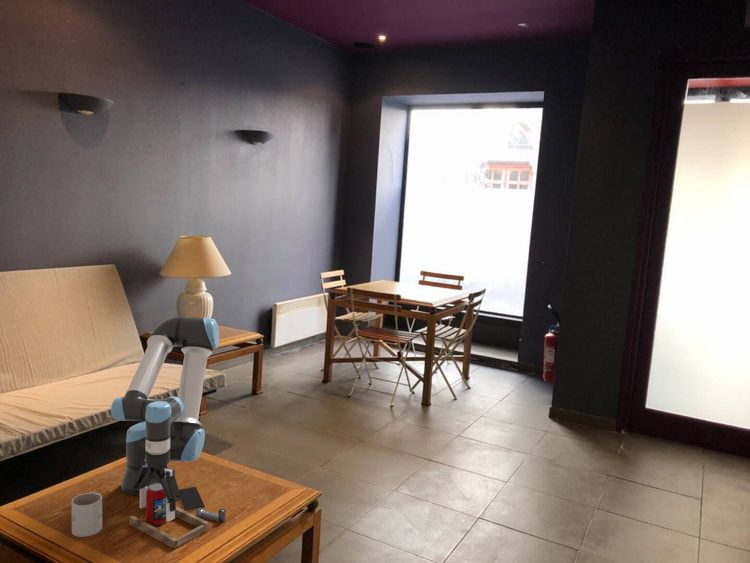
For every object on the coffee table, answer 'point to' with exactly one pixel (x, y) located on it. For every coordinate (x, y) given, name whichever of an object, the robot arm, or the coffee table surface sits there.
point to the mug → (86, 514)
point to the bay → (166, 538)
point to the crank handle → (211, 514)
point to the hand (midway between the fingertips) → (156, 513)
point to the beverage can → (155, 504)
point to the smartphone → (191, 499)
